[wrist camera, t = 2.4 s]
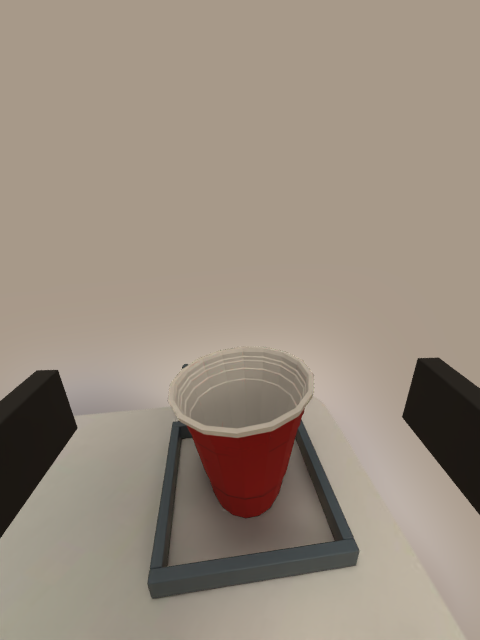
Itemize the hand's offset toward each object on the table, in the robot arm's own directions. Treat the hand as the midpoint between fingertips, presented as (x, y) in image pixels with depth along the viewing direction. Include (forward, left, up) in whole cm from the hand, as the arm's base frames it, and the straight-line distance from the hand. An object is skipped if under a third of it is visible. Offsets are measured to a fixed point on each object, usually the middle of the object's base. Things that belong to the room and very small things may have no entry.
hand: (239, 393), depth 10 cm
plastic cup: (+5, -7, -17) cm, 19 cm away
